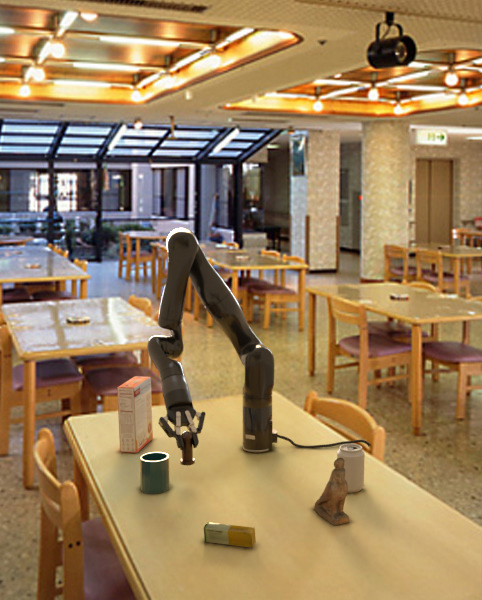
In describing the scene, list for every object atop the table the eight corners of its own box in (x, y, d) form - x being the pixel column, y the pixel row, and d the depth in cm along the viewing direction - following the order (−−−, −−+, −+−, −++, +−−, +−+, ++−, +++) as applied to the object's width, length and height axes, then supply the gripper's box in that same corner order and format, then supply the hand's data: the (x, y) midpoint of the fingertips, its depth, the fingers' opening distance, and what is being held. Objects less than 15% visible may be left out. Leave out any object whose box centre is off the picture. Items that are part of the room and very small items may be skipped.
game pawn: (195, 460, 225) (194, 429, 223) (194, 465, 221) (193, 433, 219) (181, 460, 224) (180, 429, 223) (179, 465, 220) (178, 434, 219)
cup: (170, 482, 219) (170, 451, 218) (167, 493, 212) (167, 461, 210) (142, 483, 218) (142, 452, 217) (139, 494, 211) (138, 462, 210)
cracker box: (135, 438, 257) (134, 375, 254) (153, 439, 256) (152, 376, 253) (118, 452, 243) (116, 386, 240) (136, 453, 242) (135, 387, 239)
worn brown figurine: (349, 531, 196) (358, 468, 190) (329, 534, 194) (337, 471, 188) (331, 504, 206) (339, 443, 200) (311, 507, 204) (319, 445, 198)
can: (368, 486, 219) (368, 444, 217) (357, 495, 212) (358, 452, 210) (343, 481, 222) (344, 440, 220) (331, 490, 215) (332, 448, 213)
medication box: (203, 542, 183) (202, 527, 182) (208, 536, 186) (207, 521, 185) (252, 548, 180) (251, 532, 179) (256, 542, 183) (255, 526, 182)
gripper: (154, 390, 223) (166, 445, 214) (202, 385, 229) (216, 437, 220) (150, 404, 228) (161, 457, 219) (197, 398, 235) (211, 450, 226)
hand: (189, 447), depth 220 cm, fingers closed on game pawn, 3 cm apart
